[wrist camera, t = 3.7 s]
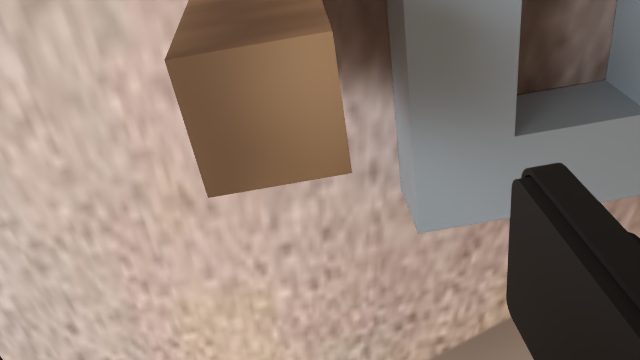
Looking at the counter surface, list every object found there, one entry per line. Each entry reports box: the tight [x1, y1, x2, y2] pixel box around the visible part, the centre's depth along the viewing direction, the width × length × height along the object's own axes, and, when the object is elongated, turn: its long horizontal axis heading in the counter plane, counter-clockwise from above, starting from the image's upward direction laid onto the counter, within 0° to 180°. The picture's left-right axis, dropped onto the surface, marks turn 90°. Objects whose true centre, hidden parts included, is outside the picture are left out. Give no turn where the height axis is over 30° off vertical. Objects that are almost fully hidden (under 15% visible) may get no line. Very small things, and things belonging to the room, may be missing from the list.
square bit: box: [165, 0, 352, 198], centre depth 18 cm, size 4×4×10 cm
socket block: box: [386, 0, 640, 234], centre depth 23 cm, size 14×14×4 cm
